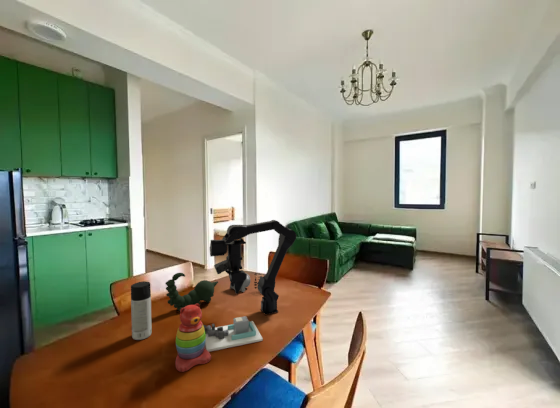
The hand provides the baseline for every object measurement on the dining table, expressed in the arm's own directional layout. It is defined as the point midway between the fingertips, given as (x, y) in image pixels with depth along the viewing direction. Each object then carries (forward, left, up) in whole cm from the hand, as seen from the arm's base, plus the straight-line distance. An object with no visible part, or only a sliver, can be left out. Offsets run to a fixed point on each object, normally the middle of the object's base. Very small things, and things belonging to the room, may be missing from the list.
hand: (234, 289), depth 116 cm
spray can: (+36, +3, -12) cm, 38 cm away
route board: (+4, +15, -12) cm, 19 cm away
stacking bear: (+19, +24, -12) cm, 33 cm away
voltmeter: (-15, -28, -12) cm, 34 cm away
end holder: (+1, +15, -12) cm, 19 cm away
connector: (+1, +15, -11) cm, 19 cm away
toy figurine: (+16, -17, -12) cm, 27 cm away
